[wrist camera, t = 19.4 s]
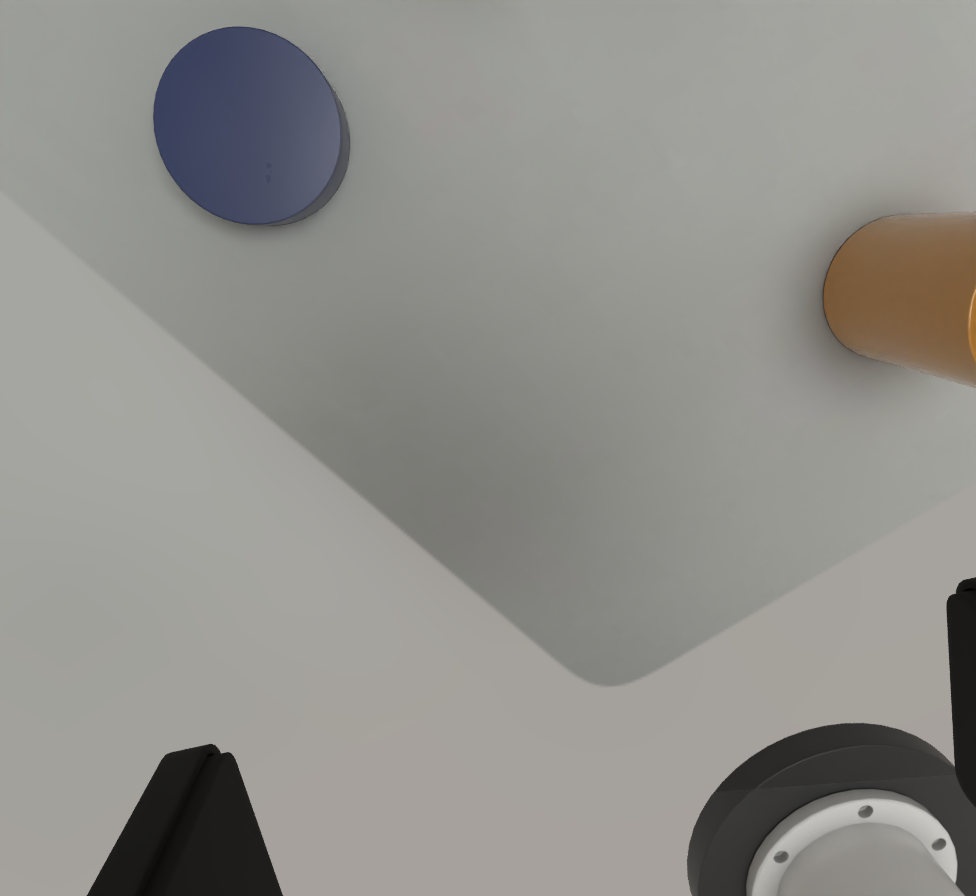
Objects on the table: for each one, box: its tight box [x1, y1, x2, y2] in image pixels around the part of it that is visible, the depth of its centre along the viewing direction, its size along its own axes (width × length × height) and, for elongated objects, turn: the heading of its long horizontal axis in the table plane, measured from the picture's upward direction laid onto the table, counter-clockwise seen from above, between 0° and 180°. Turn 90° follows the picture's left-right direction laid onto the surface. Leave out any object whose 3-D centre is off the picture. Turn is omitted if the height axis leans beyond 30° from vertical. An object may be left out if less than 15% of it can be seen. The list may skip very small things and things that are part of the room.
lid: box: [153, 27, 350, 226], centre depth 30 cm, size 7×7×3 cm
